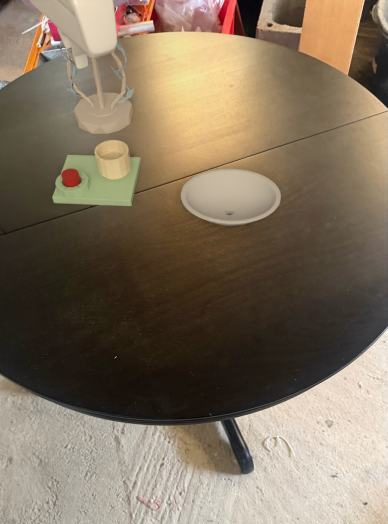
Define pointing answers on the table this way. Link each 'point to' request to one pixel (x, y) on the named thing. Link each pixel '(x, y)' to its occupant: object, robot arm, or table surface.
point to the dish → (230, 196)
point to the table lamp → (100, 96)
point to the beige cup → (113, 159)
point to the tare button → (70, 177)
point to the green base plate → (96, 184)
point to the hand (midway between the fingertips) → (78, 63)
